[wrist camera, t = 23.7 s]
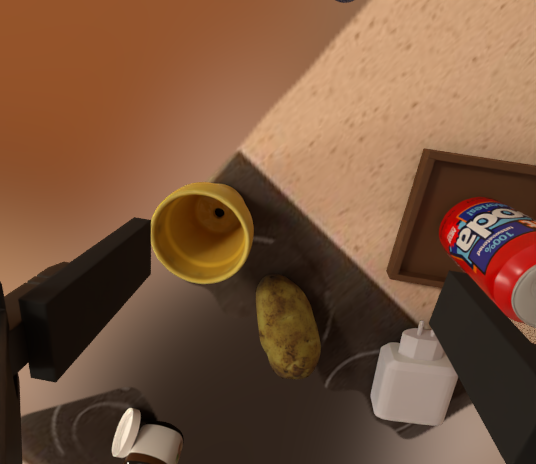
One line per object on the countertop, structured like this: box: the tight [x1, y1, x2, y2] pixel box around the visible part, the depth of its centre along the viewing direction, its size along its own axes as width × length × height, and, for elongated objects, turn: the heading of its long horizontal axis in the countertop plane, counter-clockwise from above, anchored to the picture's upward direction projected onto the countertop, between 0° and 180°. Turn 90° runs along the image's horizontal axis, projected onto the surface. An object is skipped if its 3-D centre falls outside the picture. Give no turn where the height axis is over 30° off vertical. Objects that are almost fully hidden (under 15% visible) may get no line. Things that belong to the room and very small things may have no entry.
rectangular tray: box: [386, 149, 536, 288], centre depth 39 cm, size 16×16×2 cm
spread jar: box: [112, 408, 183, 464], centre depth 54 cm, size 12×11×12 cm
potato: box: [256, 274, 321, 379], centre depth 44 cm, size 8×13×8 cm, turn 2°
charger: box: [371, 320, 458, 426], centre depth 46 cm, size 5×9×15 cm
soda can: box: [439, 197, 536, 328], centre depth 33 cm, size 8×8×15 cm
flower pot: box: [151, 182, 254, 284], centre depth 38 cm, size 10×10×10 cm
